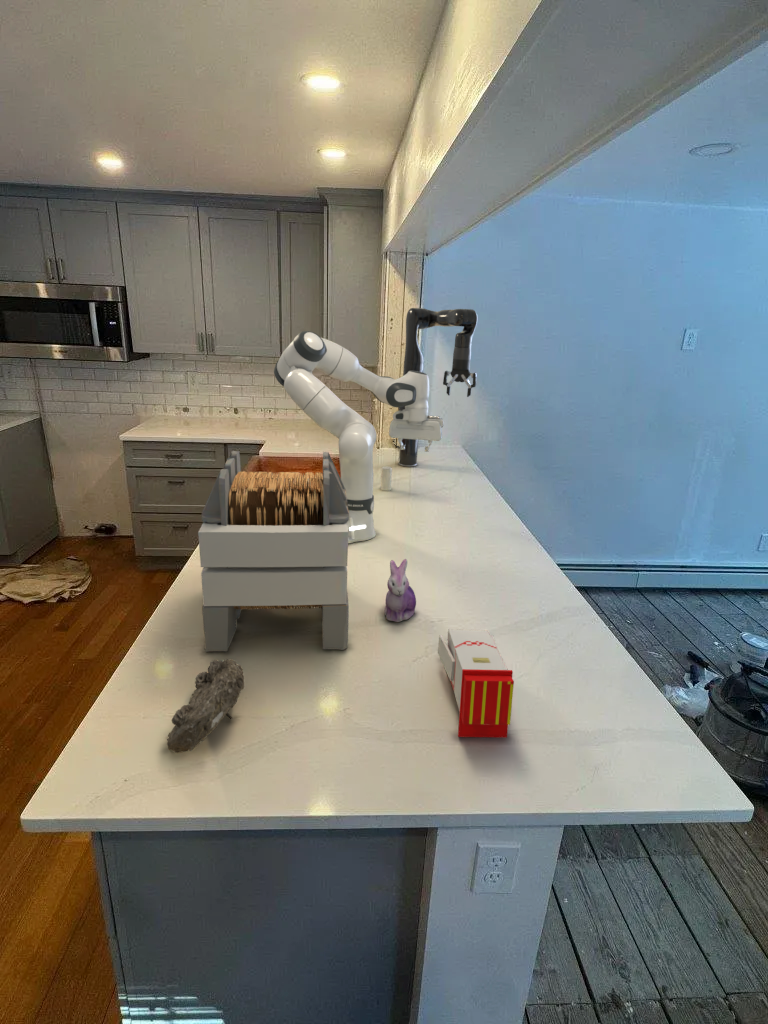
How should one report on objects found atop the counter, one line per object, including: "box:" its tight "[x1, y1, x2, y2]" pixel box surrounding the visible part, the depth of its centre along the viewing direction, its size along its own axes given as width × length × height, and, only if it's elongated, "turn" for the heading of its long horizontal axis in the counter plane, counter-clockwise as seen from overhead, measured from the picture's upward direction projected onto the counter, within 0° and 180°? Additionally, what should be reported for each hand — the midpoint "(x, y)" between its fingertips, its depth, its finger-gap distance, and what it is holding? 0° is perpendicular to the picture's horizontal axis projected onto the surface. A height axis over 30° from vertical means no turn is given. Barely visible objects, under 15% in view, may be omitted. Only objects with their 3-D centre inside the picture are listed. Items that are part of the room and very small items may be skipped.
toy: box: [437, 628, 515, 738], centre depth 117 cm, size 12×13×30 cm
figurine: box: [384, 558, 417, 623], centre depth 145 cm, size 9×10×15 cm
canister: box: [380, 465, 393, 492], centre depth 247 cm, size 5×5×10 cm
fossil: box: [166, 658, 245, 754], centre depth 106 cm, size 22×10×15 cm
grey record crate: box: [197, 450, 350, 653], centre depth 138 cm, size 34×33×41 cm
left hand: (414, 450), depth 219 cm, fingers open, 8 cm apart
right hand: (458, 395), depth 250 cm, fingers open, 8 cm apart
